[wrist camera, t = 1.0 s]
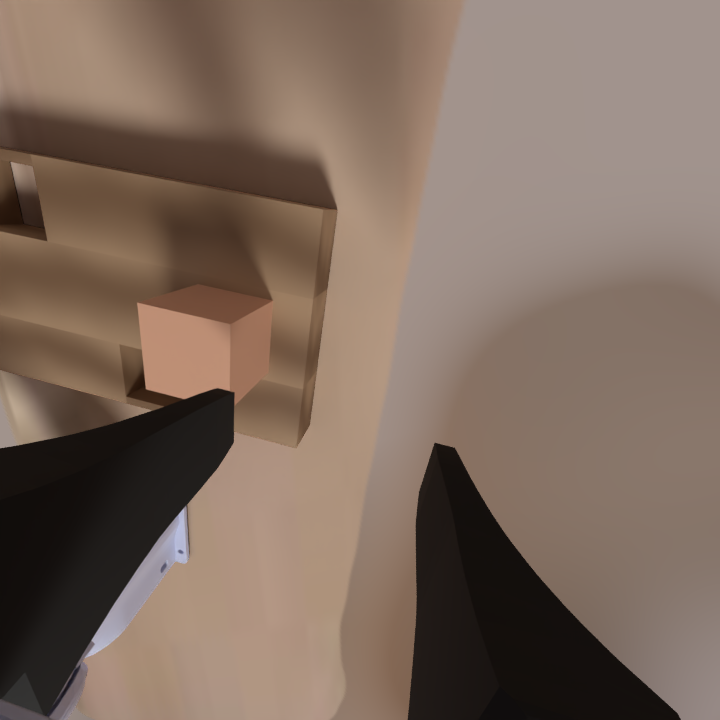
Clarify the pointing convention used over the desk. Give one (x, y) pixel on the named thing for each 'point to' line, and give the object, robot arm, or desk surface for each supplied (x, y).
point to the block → (204, 341)
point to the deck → (156, 280)
